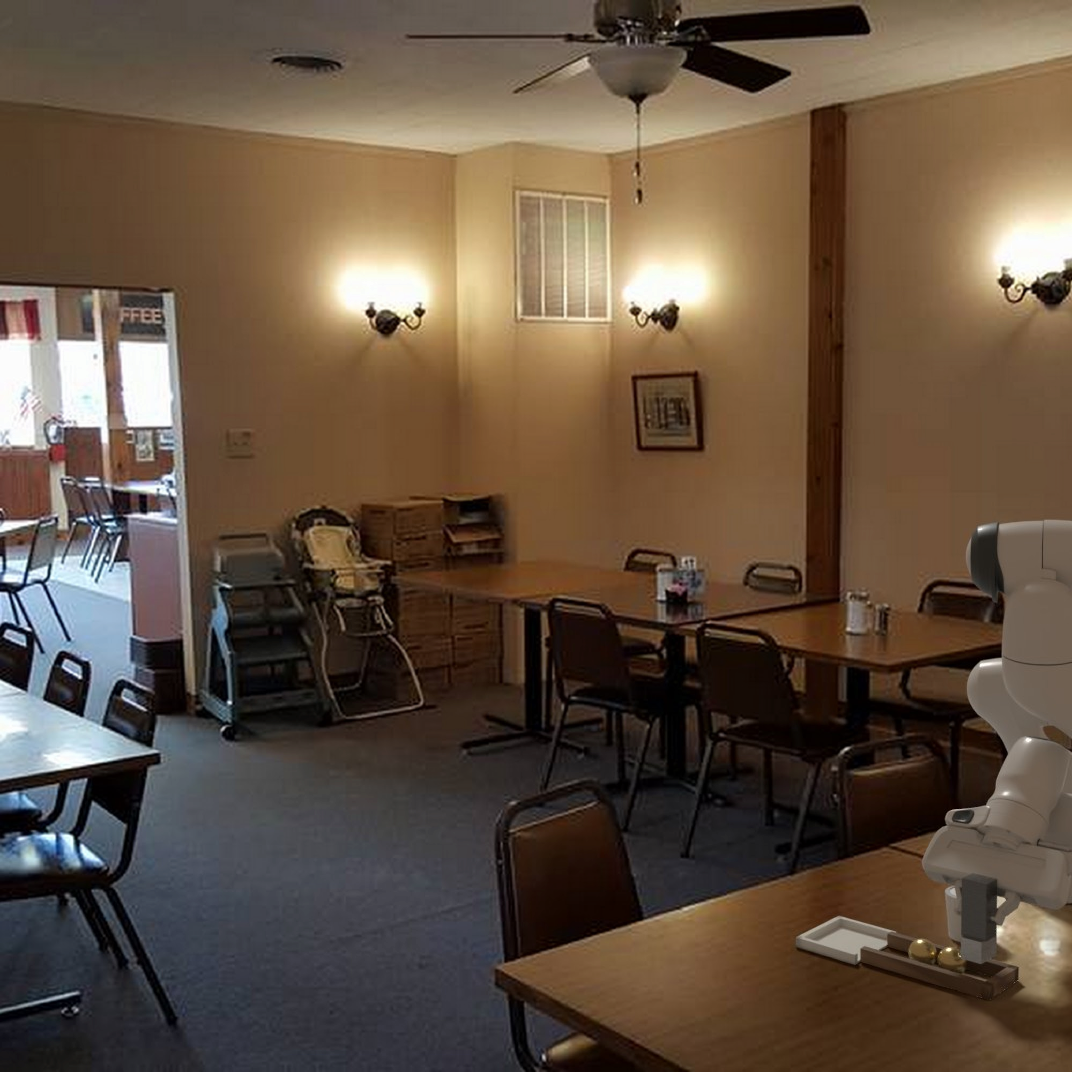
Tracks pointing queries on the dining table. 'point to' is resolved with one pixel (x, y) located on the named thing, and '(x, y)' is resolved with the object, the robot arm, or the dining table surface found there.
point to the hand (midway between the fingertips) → (977, 918)
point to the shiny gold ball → (923, 951)
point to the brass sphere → (951, 960)
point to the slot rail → (987, 989)
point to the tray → (843, 939)
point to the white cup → (952, 915)
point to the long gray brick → (978, 918)
